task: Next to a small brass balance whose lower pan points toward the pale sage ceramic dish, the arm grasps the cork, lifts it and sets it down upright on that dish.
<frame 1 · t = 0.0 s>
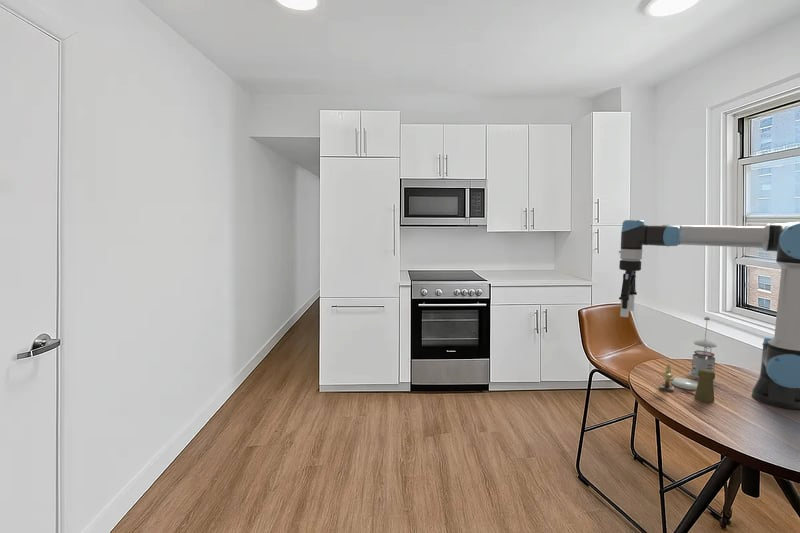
hand: (627, 313, 176), 28 cm above the table, fingers open, 13 cm apart
french press: (702, 375, 188), on the table
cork: (704, 399, 163), on the table
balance: (666, 389, 173), on the table
dish: (686, 385, 177), on the table
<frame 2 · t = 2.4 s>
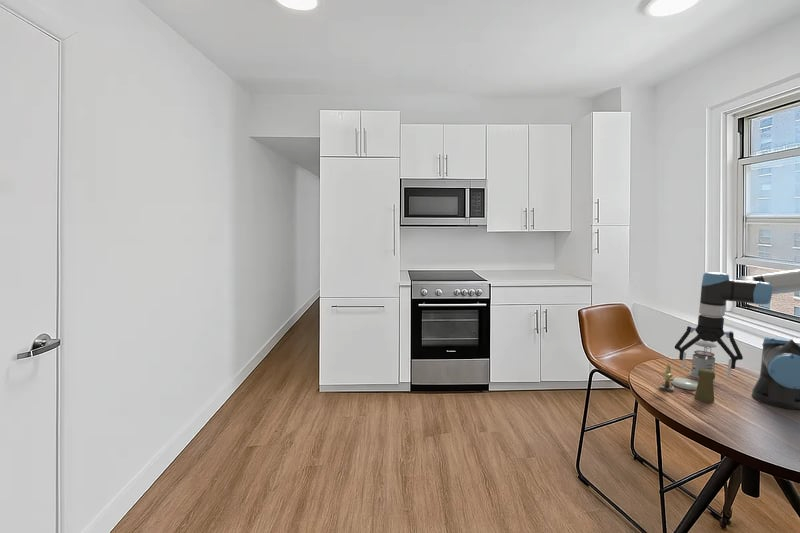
hand: (705, 372, 162), 10 cm above the table, fingers open, 13 cm apart
nothing on the table moved.
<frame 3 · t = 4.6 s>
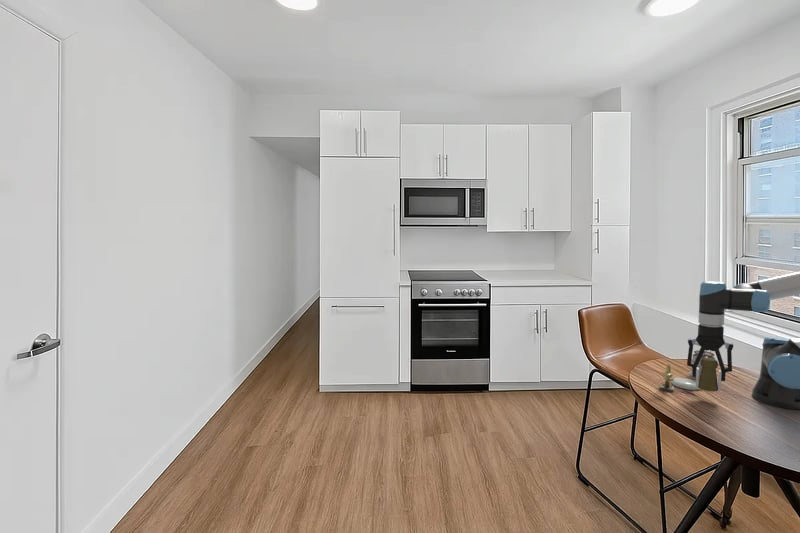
hand: (708, 387, 162), 5 cm above the table, fingers closed on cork, 6 cm apart
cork: (707, 388, 162), point 4 cm above the table, touching gripper
everything else where it was.
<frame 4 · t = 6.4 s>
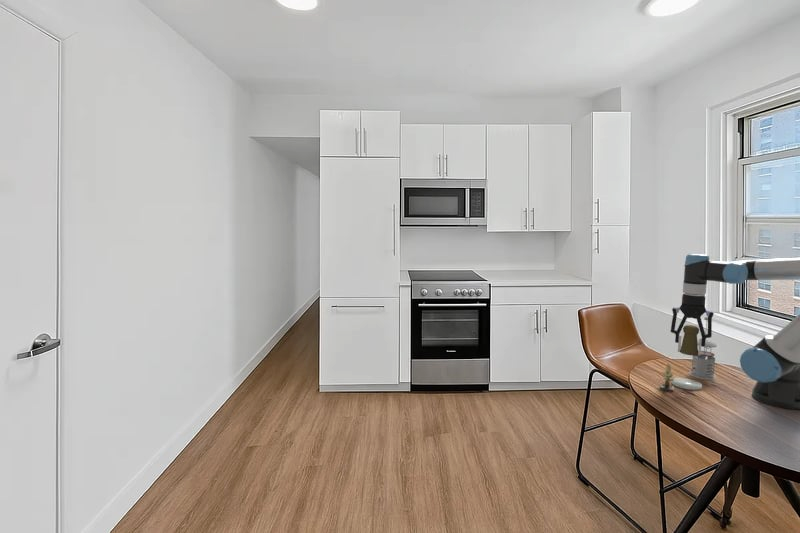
hand: (689, 352, 175), 13 cm above the table, fingers closed on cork, 6 cm apart
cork: (688, 353, 175), point 13 cm above the table, touching gripper
everything else where it was.
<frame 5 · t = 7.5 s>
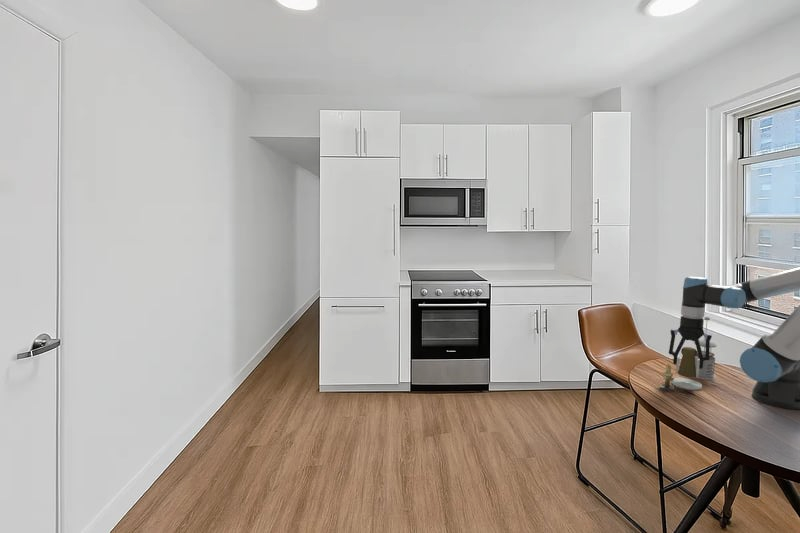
hand: (687, 374, 176), 5 cm above the table, fingers closed on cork, 6 cm apart
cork: (686, 375, 176), point 4 cm above the table, touching gripper
everything else where it was.
when the fingers open (2 cm above the table, at t = 8.2 s): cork stays where it is, resting on dish.
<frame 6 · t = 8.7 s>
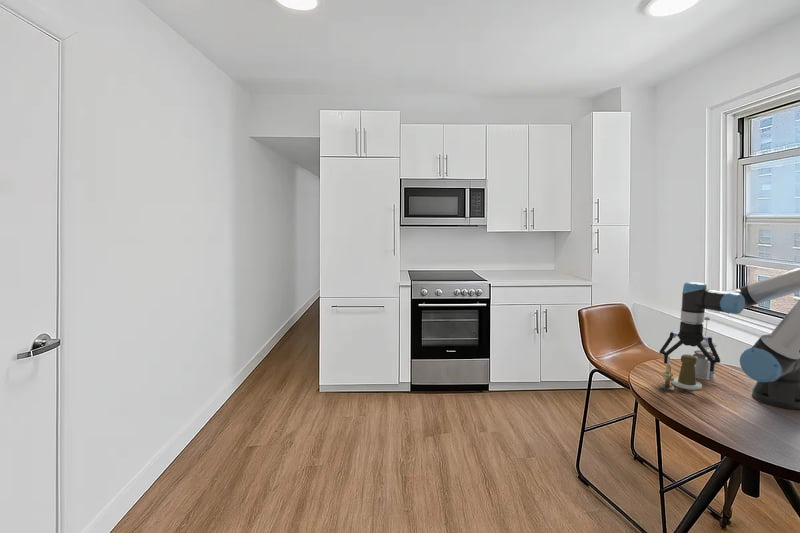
hand: (687, 375, 176), 4 cm above the table, fingers open, 13 cm apart
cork: (686, 382, 176), point 1 cm above the table, touching dish
everything else where it was.
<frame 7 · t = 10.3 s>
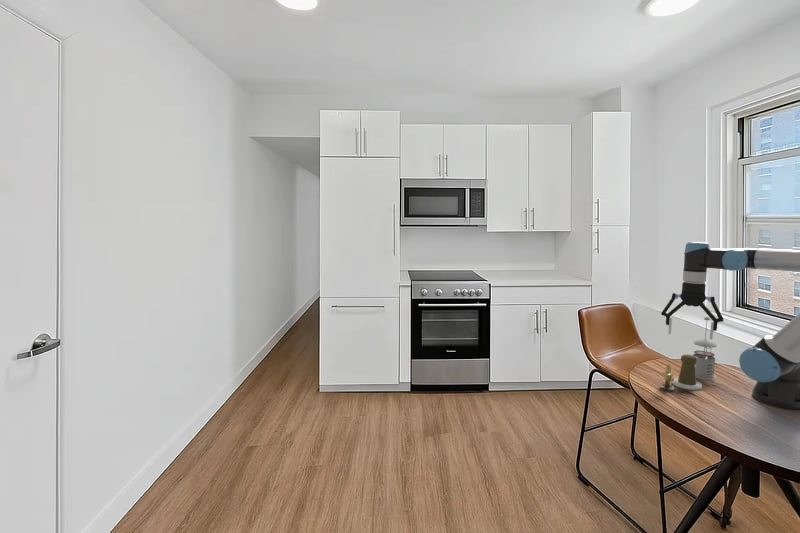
hand: (689, 336, 175), 20 cm above the table, fingers open, 13 cm apart
nothing on the table moved.
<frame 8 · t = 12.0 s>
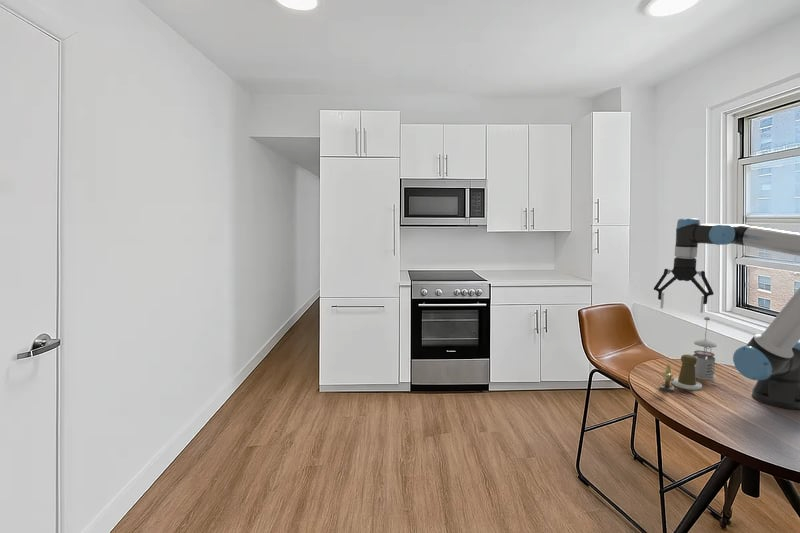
hand: (681, 310, 180), 29 cm above the table, fingers open, 13 cm apart
nothing on the table moved.
at the end: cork inside the target area on the dish (0.0 cm from its centre), point 1.0 cm above the dish's base; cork tilted 0°; the gripper is holding nothing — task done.
